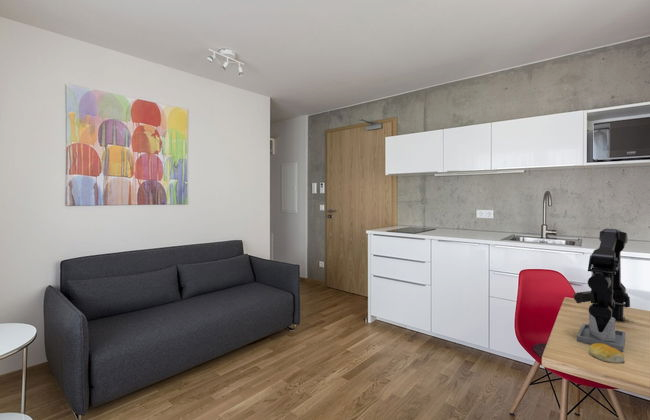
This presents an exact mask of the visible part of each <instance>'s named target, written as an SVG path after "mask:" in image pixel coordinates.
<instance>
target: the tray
mask: <svg viewBox="0 0 650 420" xmlns="http://www.w3.org/2000/svg"><path fill="white" fill-rule="evenodd" d="M625 341H626V331H622V330H617V329H615V342H607V341H601V340H600V339H598V338H597V337H595V336H594V335H592V334H590V333H589V324H588V323H583V324H582V325H581V327H580V329H579V331H578V333H577V335H576V342H578V343H581V344H582V343H583V344H587V345H590V346H591V345H592V344H595V343H602V344H606V345H608V346H610V347H613V348H615V349H617V350H619V351H620V352H621V353H624V348H625Z"/></svg>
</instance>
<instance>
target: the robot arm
mask: <svg viewBox="0 0 650 420" xmlns="http://www.w3.org/2000/svg"><path fill="white" fill-rule="evenodd" d="M598 239H599V241H600V244H599V247H598V248H597V249H594V250H593V252H592V254H590V256H589V260H588V267H587V272H591V273H592V275H591V276H590V277H589V278H588V280H587V285H588V287H589V288H590V291H589V290H587V291H579V292H575V293H573V295H572V296H573V297H574V298H573V299H574V301H575V302H576V304H581V303H587V302H590V305H589V306H588V313H590V314H591V315H592V316H593V317H594V318H595V320H596V324H597V328H598V331H599V332H603V330H604V329H605V327H606V325H607V324H608V322H609V320H610V319H611V317H613V318H615V321H619V322H623V323H624V322H625V316H624V309H625V308H626V309H627V308H630V307H631V300H630V296H629V295H628V293H627V292H626V291H627V289H626V286H625V285H624V284H623V282H622V281H621V280H622V279H621V276H622V275H621V274H622V272H621V269H622V267H621V260H622V259H621V252H622V251H623V250H624V249H625V246H626V244H628V239H629V238H628V233H626V232H625V231H621V230H620V229H617V228H604V229H602V230H600V231H599V238H598Z"/></svg>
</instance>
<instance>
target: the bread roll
mask: <svg viewBox="0 0 650 420" xmlns="http://www.w3.org/2000/svg"><path fill="white" fill-rule="evenodd" d="M588 353H589V354H590V356H592V357H595V358H597V359H598V360H600V361H603V362H607V363H612V364H613V363H614V364H621V363H622V364H623V363H624V361H625V355H624V354H623V352H620V351H619V350H617V349H615V348H613V347H610V346H608V345H606V344H602V343H595V344H592V345H591V344H590V346H589V348H588Z"/></svg>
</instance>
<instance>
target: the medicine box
mask: <svg viewBox="0 0 650 420" xmlns="http://www.w3.org/2000/svg"><path fill="white" fill-rule="evenodd" d="M588 313H589V312H588ZM588 316H589V320H588V321H589V322H588V323H589V333H590V334H592V335H594V336H595V337H597V338H598V339H600V340H601V341H607V342H615V330H616V320H615V318H613V317H611V319H610V320H609V322H608V324H607V325H606V327H605V329H604V330H603V332H599V331H598V328H597V324H596V320H595V318H594V317H593V316H592V315H591V314H590V313H589V315H588Z"/></svg>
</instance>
